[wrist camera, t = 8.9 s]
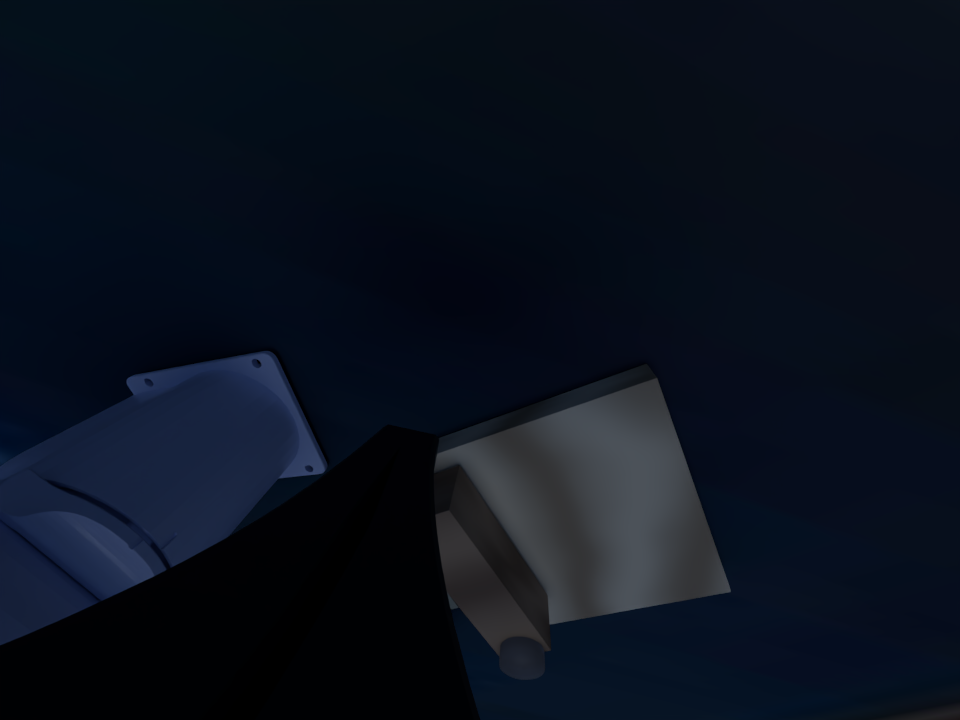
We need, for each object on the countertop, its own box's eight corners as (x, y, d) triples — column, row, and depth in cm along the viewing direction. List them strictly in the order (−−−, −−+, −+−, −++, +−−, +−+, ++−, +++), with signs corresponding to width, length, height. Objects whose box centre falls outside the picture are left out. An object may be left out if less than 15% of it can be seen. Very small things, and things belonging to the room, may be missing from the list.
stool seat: (497, 611, 26) (492, 687, 22) (388, 456, 21) (356, 517, 17) (718, 567, 22) (762, 650, 18) (646, 363, 17) (684, 415, 13)
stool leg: (552, 602, 23) (557, 674, 19) (509, 612, 24) (507, 683, 20) (459, 464, 19) (445, 524, 16) (412, 482, 20) (389, 542, 16)
